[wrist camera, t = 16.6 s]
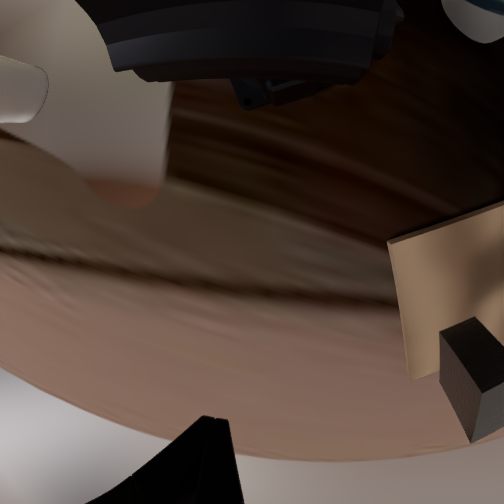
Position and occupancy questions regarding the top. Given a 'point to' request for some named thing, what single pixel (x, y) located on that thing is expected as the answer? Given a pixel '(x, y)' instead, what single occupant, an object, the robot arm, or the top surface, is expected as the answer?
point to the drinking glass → (21, 90)
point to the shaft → (473, 376)
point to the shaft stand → (448, 282)
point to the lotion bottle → (477, 18)
